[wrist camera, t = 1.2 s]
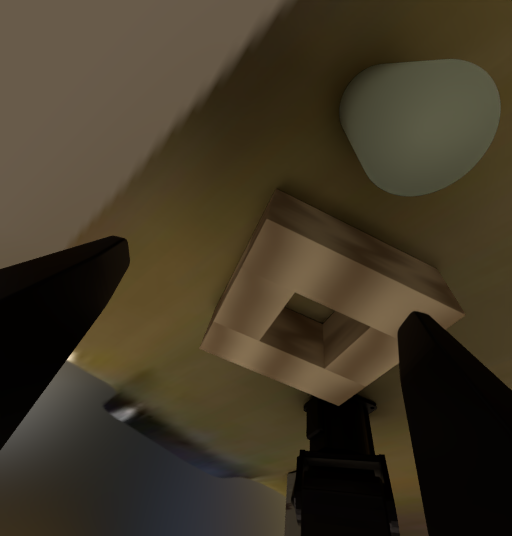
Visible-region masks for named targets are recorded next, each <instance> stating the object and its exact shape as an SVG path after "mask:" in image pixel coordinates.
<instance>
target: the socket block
mask: <svg viewBox="0 0 512 536" xmlns="http://www.w3.org/2000/svg"><path fill="white" fill-rule="evenodd" d="M295 292H296V293H298V294H300V295H302V296H304V297H307V298H309V299H311V300H313V301H315V302H317V303H320V304H322V305H324V306H326V307H328V308H331V309H333V310H335V311H334V313H333V314H332V315H331V316H330V317H329V318H328V319H327V320H326V321H325V322H324V323H323V324H321V323H319V322H316V321H314V320H312V319H310V318H308V317H305V316H303V315H301V314H299V313H296V312H294V311H292V310H290V309H287V308H285V305H286V304H287V303H288V301H289V300H290V298H291V297H292V296H293V294H294V293H295ZM413 311H418V312H422V313H426V314H428V315H430V316H431V317H432V318H433V319H434V320H435V321H436V322H437V323H438V324H440V325H441V326H442V327H443V328H444V329H445V330H446V329H447V328H448V327H450V326H451V325H453V324H454V323H455V322H457V321H458V320H460V319H461V318H462V317H464V316H465V315H466V314H465V313H464V311H463V310H462V308H461V306H460V305H459V303H458V302H457V300H456V298H455V297H454V295H453V294H452V292H451V290H450V289H449V287H448V286H447V284H446V282H445V281H444V279H443V278H442V276H441V274H440V273H439V271H438V269H436V268H434V267H432V266H430V265H428V264H426V263H424V262H422V261H420V260H418V259H416V258H414V257H412V256H410V255H408V254H406V253H404V252H402V251H400V250H398V249H396V248H394V247H392V246H390V245H388V244H386V243H384V242H382V241H380V240H378V239H376V238H374V237H372V236H370V235H368V234H366V233H364V232H362V231H360V230H358V229H356V228H354V227H352V226H350V225H348V224H346V223H344V222H342V221H340V220H338V219H336V218H334V217H332V216H330V215H328V214H326V213H324V212H322V211H320V210H318V209H316V208H314V207H312V206H310V205H308V204H306V203H304V202H302V201H300V200H298V199H296V198H294V197H292V196H290V195H288V194H286V193H284V192H282V191H280V190H278V189H275V191H274V193H273V195H272V197H271V199H270V201H269V203H268V205H267V207H266V209H265V211H264V213H263V215H262V217H261V219H260V221H259V223H258V225H257V227H256V229H255V231H254V233H253V235H252V237H251V239H250V241H249V243H248V245H247V247H246V249H245V251H244V253H243V255H242V257H241V259H240V261H239V263H238V265H237V267H236V269H235V271H234V273H233V275H232V277H231V279H230V281H229V283H228V285H227V287H226V289H225V291H224V293H223V295H222V297H221V299H220V300H219V302H218V304H217V306H216V308H215V311H214V313H213V316H212V318H211V321H210V323H209V326H208V328H207V331H206V333H205V335H204V338H203V340H202V343H201V345H200V348H199V349H201V350H204V351H206V352H209V353H211V354H214V355H216V356H218V357H221V358H223V359H226V360H228V361H231V362H233V363H235V364H238V365H240V366H243V367H245V368H248V369H250V370H252V371H255V372H257V373H260V374H262V375H265V376H267V377H269V378H272V379H274V380H277V381H279V382H282V383H284V384H286V385H289V386H291V387H294V388H296V389H299V390H301V391H303V392H306V393H308V394H311V395H313V396H316V397H318V398H320V399H323V400H325V401H328V402H330V403H333V404H335V405H337V406H340V405H341V404H342V403H344V402H345V401H347V400H348V399H349V398H351V397H352V396H353V395H355V394H356V393H358V392H359V391H360V390H362V389H363V388H365V387H366V386H367V385H369V384H370V383H372V382H373V381H374V380H376V379H377V378H379V377H380V376H381V375H383V374H384V373H386V372H387V371H388V370H390V369H391V368H393V367H394V366H395V365H397V364H398V363H399V354H398V339H397V333H398V329H399V327H400V326H401V324H402V323H403V322H404V321H405V319H406V318H407V317H408V315H409V314H410V313H411V312H413Z"/></svg>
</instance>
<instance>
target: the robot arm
mask: <svg viewBox="0 0 512 536" xmlns="http://www.w3.org/2000/svg"><path fill="white" fill-rule="evenodd" d="M129 263H130V257H129V248H128V242H127V240H126V239H125V238H121V237H117V236H109V237H106V238H103V239H99V240H96V241H93V242H89V243H86V244H83V245H79V246H76V247H73V248H69V249H66V250H63V251H59V252H56V253H53V254H49V255H46V256H43V257H39V258H36V259H33V260H29V261H26V262H23V263H19V264H16V265H13V266H9V267H6V268H3V269H0V450H1V449H2V447H3V446H4V445H5V443H6V442H7V440H8V439H9V438H10V436H11V435H12V434H13V432H14V431H15V430H16V428H17V427H18V425H19V424H20V423H21V421H22V420H23V419H24V417H25V416H26V415H27V413H28V412H29V410H30V409H31V408H32V406H33V405H34V404H35V402H36V401H37V400H38V398H39V397H40V395H41V394H42V393H43V391H44V390H45V389H46V387H47V386H48V385H49V383H50V382H51V380H52V379H53V378H54V376H55V375H56V374H57V372H58V371H59V369H60V368H61V367H62V365H63V364H64V363H65V361H66V360H67V359H68V357H69V356H70V355H71V353H72V352H73V350H74V349H75V348H76V346H77V345H78V344H79V342H80V341H81V340H82V338H83V337H84V335H85V334H86V333H87V331H88V330H89V329H90V327H91V326H92V325H93V323H94V322H95V320H96V319H97V318H98V316H99V315H100V314H101V312H102V311H103V309H104V308H105V307H106V305H107V303H108V302H109V300H110V298H111V297H112V295H113V293H114V291H115V290H116V288H117V286H118V284H119V283H120V281H121V279H122V277H123V276H124V274H125V272H126V270H127V269H128V267H129ZM397 339H398V354H399V369H400V380H401V387H402V392H403V398H404V403H405V409H406V414H407V420H408V425H409V431H410V436H411V442H412V447H413V453H414V458H415V464H416V469H417V475H418V480H419V486H420V491H421V497H422V502H423V507H424V513H425V518H426V524H427V529H428V535H429V536H512V390H511V389H509V388H508V387H507V386H506V385H505V384H504V383H503V382H502V381H501V380H500V379H499V378H497V377H496V376H495V375H494V374H493V373H492V372H491V371H490V370H489V369H488V368H487V367H485V366H484V365H483V364H482V363H481V362H480V361H479V360H478V359H477V358H476V357H475V356H473V355H472V354H471V353H470V352H469V351H468V350H467V349H466V348H465V347H464V346H462V345H461V344H460V343H459V342H458V341H457V340H456V339H455V338H454V337H453V336H452V335H450V334H449V333H448V332H447V331H446V330H445V329H444V328H443V327H442V326H441V325H440V324H438V323H437V322H436V321H435V320H434V319H433V318H432V317H431V316H430V315H428V314H426V313H422V312H418V311H413V312H411V313H410V314H409V315H408V317H407V318H406V319H405V321H404V322H403V323H402V324H401V326H400V327H399V329H398V333H397ZM376 409H377V406H376V404H375V403H373V402H371V401H369V400H366V399H364V398H362V397H359V396H357V395H353V396H352V397H351V398H349V399H348V400H347V401H345V402H344V403H342V404H341V405H340V406H337V405H335V404H333V403H330V402H328V401H325V400H323V399H320V398H318V397H316V396H315V397H314V398H313V399H312V400H310V401H309V402H308V403H307V404H306V405H304V411H305V412H307V431H306V436H307V439H309V440H310V451H305V450H300V455H299V456H298V457H297V470H296V478H295V482H294V487H293V491H292V496H291V504H292V505H293V507H294V508H295V513H296V518H297V523H298V526H301V536H400V533H399V526H398V520H397V514H396V508H395V503H394V498H393V493H392V488H391V483H390V479H389V474H388V469H387V464H386V460H385V455H381V454H379V455H375V451H374V445H373V439H372V433H371V427H370V421H369V414H370V413H371V412H373V411H374V410H376Z"/></svg>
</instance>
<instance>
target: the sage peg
mask: <svg viewBox="0 0 512 536" xmlns="http://www.w3.org/2000/svg"><path fill="white" fill-rule="evenodd" d="M500 112H501V103H500V96H499V92H498V89H497V86H496V84H495V83H494V81H493V79H492V78H491V77H490V75H489V74H488V73H487V72H486V71H485V70H483V69H482V68H481V67H479V66H477V65H475V64H473V63H471V62H468V61H464V60H458V59H441V60H428V61H415V62H402V63H389V64H378V65H374V66H371V67H369V68H367V69H365V70H363V71H362V72H360V73H359V74H358V75H356V76H355V77H354V78H353V79H352V81H351V82H350V83H349V84H348V86H347V88H346V89H345V91H344V93H343V96H342V98H341V102H340V108H339V117H340V122H341V125H342V128H343V130H344V132H345V134H346V136H347V137H348V139H349V141H350V143H351V145H352V147H353V149H354V151H355V153H356V155H357V157H358V159H359V161H360V163H361V165H362V167H363V169H364V171H365V172H366V174H367V176H368V177H369V179H370V180H371V181H372V182H373V183H374V184H375V185H376V186H377V187H379V188H381V189H382V190H384V191H386V192H388V193H391V194H395V195H399V196H420V195H425V194H429V193H433V192H436V191H438V190H441V189H443V188H445V187H447V186H449V185H451V184H453V183H454V182H456V181H457V180H459V179H460V178H461V177H463V176H464V175H465V174H466V173H468V172H469V171H470V170H471V169H472V168H473V167H474V166H475V165H476V164H477V163H478V161H479V160H480V159H481V158H482V157H483V155H484V154H485V152H486V151H487V149H488V148H489V146H490V144H491V142H492V140H493V138H494V136H495V133H496V131H497V127H498V124H499V119H500Z"/></svg>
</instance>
